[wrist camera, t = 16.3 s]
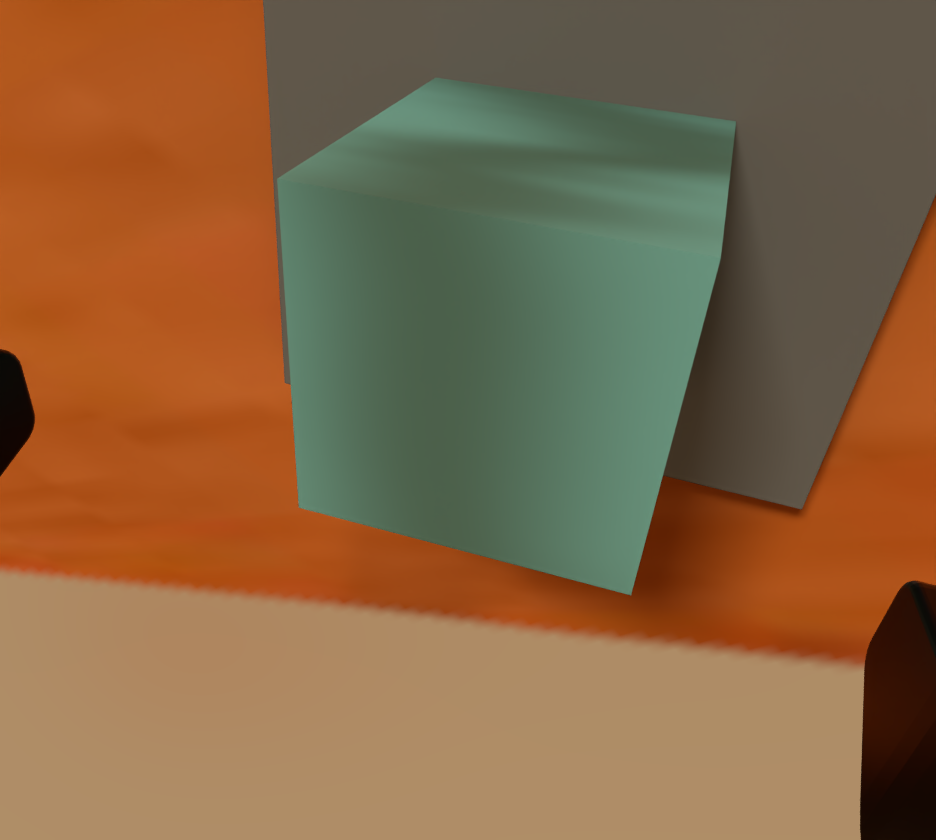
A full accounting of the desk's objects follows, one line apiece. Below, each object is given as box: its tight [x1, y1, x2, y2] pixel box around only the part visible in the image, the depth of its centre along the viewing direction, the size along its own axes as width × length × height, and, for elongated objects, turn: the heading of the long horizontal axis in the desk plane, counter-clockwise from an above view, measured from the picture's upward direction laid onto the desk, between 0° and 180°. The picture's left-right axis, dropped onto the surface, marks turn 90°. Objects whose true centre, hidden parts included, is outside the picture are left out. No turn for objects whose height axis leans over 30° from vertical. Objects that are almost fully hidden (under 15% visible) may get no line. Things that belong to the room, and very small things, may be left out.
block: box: [277, 78, 736, 595], centre depth 11 cm, size 4×4×5 cm
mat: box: [263, 0, 936, 509], centre depth 13 cm, size 10×8×1 cm
